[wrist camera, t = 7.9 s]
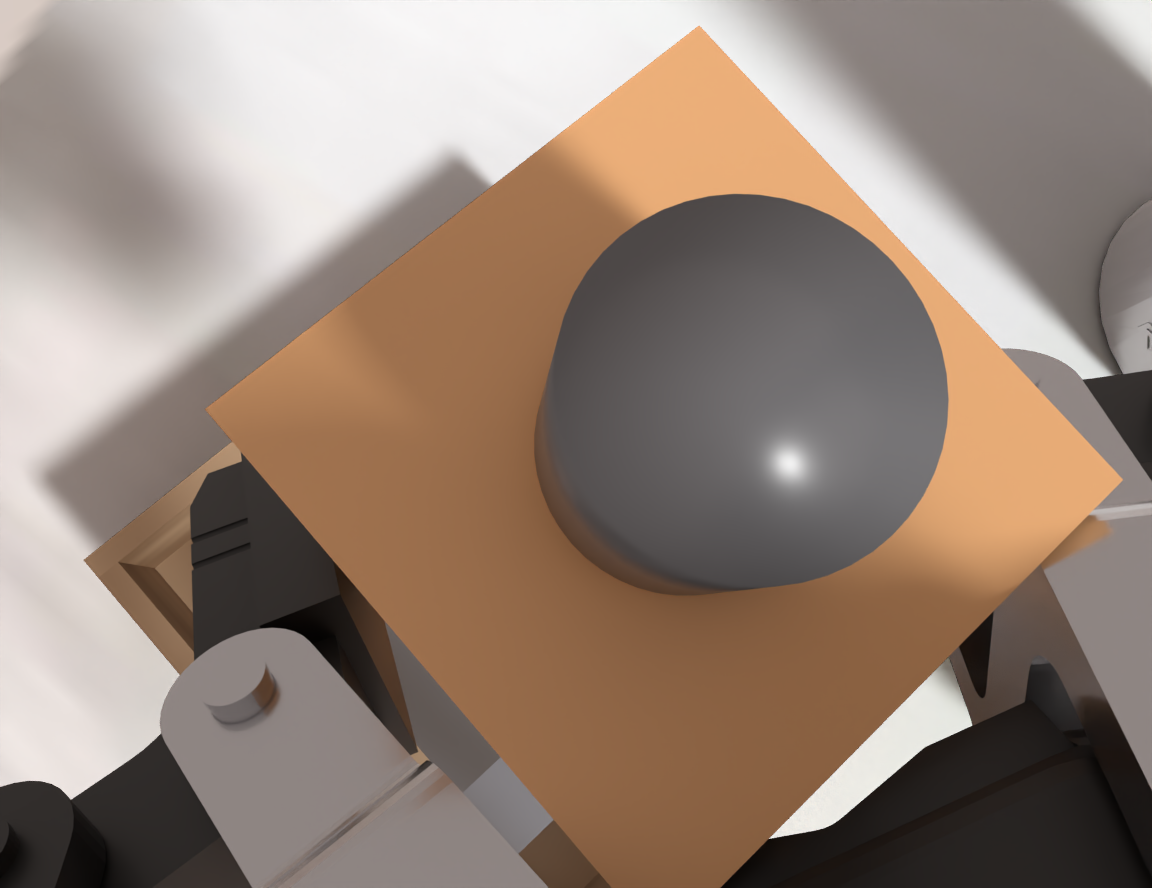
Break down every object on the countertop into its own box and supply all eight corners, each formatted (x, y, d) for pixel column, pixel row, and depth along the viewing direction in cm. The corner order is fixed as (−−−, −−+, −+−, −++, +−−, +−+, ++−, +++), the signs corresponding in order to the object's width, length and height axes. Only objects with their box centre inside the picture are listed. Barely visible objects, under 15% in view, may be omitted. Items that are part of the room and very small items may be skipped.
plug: (567, 384, 16) (770, -168, 5) (728, 565, 16) (1343, 431, 5) (380, 541, 15) (97, 330, 4) (545, 735, 15) (736, 1080, 4)
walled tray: (542, 234, 31) (556, 152, 26) (884, 609, 30) (974, 607, 25) (131, 567, 28) (47, 554, 23) (495, 998, 27) (499, 1094, 22)
